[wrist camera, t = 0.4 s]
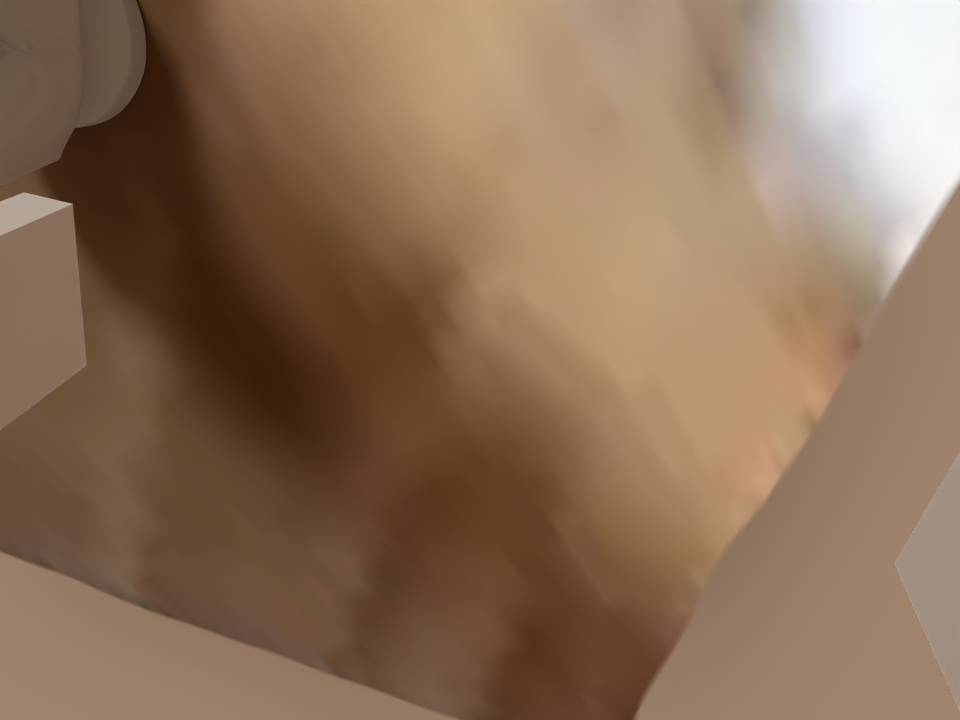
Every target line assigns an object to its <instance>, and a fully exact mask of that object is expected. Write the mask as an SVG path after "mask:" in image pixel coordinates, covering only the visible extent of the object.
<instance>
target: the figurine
mask: <svg viewBox="0 0 960 720" xmlns="http://www.w3.org/2000/svg"><path fill="white" fill-rule="evenodd" d="M145 64H146V36H145V29H144V24H143V20H142V16H141V12H140V9H139V6H138V3H137V1H136V0H0V186H2V185H5V184H7V183H10V182H12V181H14V180H16V179H18V178H20V177H22V176H24V175H26V174H28V173H30V172H33V171H35V170H37V169H39V168H42V167H44V166H46V165H49V164H51V163H53V162H56V161H58V160H59V159H60V158H61V156H62V153H63V150H64V148H65V145H66V143H67V141H68V139H69V138H70V136H71V134H72V132H73V130H74V128H80V127H86V126H91V125H96V124H99V123H102V122H105V121H107V120H109V119H111V118H113V117H114V116H116V115H117V114H118V113H120V112H121V111H122V110H123V109H124V108H125V107H126V106H127V105H128V103H129V102H130V101H131V99H132V98H133V96H134V95H135V93H136V91H137V89H138V87H139V85H140V83H141V80H142V77H143V74H144V70H145Z"/></svg>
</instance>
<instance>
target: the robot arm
mask: <svg viewBox="0 0 960 720" xmlns="http://www.w3.org/2000/svg"><path fill="white" fill-rule="evenodd" d="M86 365H87V364H86V353H85V341H84V330H83V318H82V306H81V295H80V283H79V271H78V260H77V248H76V236H75V225H74V213H73V204H71V203H67V202H62V201H58V200H54V199H49V198H45V197H41V196H36V195H32V194H28V193H22V194H19V195H16V196H14V197H11V198H9V199H6V200H3V201H1V202H0V430H1V429H2V428H4V427H5V426H6V425H8V424H9V423H10V422H12V421H13V420H14V419H16V418H17V417H18V416H20V415H21V414H22V413H24V412H25V411H26V410H28V409H29V408H30V407H32V406H33V405H34V404H36V403H37V402H38V401H40V400H41V399H42V398H44V397H45V396H46V395H48V394H49V393H50V392H52V391H53V390H54V389H56V388H57V387H58V386H60V385H61V384H62V383H64V382H65V381H66V380H68V379H69V378H70V377H72V376H73V375H74V374H76V373H77V372H78V371H80V370H81V369H82V368H84V367H85V366H86ZM894 565H895V568H896V570H897V572H898V574H899V577H900V579H901V581H902V583H903V586H904V588H905V590H906V593H907V595H908V597H909V599H910V601H911V604H912V606H913V608H914V611H915V613H916V615H917V617H918V619H919V622H920V624H921V626H922V629H923V631H924V633H925V635H926V638H927V640H928V642H929V644H930V647H931V649H932V651H933V653H934V656H935V658H936V660H937V663H938V665H939V667H940V669H941V671H942V674H943V676H944V678H945V681H946V683H947V685H948V687H949V689H950V692H951V694H952V696H953V699H954V701H955V703H956V705H957V708H958V710H959V712H960V452H959V453H958V455H957V457H956V459H955V460H954V462H953V464H952V465H951V467H950V469H949V471H948V472H947V474H946V476H945V478H944V479H943V481H942V483H941V484H940V486H939V488H938V490H937V491H936V493H935V494H934V496H933V498H932V500H931V501H930V503H929V505H928V506H927V508H926V510H925V512H924V513H923V515H922V517H921V519H920V520H919V522H918V524H917V525H916V527H915V529H914V530H913V532H912V534H911V535H910V537H909V539H908V541H907V542H906V544H905V546H904V547H903V549H902V551H901V553H900V554H899V556H898V558H897V559H896V561H895V563H894Z"/></svg>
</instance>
